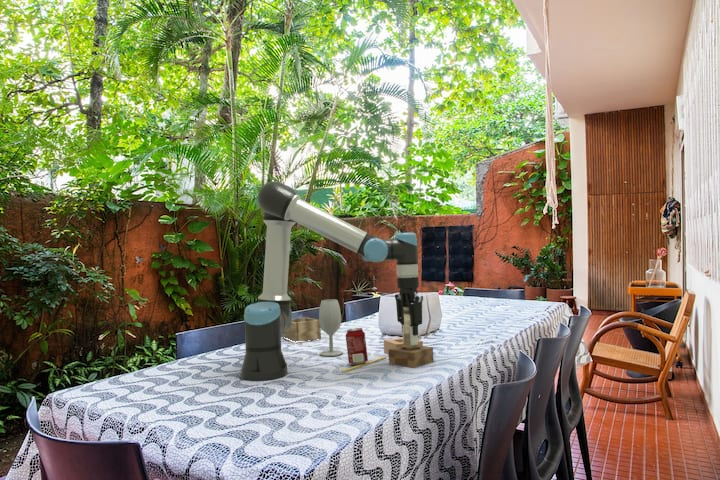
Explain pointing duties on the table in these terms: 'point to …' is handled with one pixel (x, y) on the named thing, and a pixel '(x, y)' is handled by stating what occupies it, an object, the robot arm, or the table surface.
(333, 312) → the wineglass
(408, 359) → the brown holed block
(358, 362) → the soda can
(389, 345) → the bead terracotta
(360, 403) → the table surface
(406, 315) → the beige banded cylinder
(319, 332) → the fruit crate
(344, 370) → the thin yellow stick
